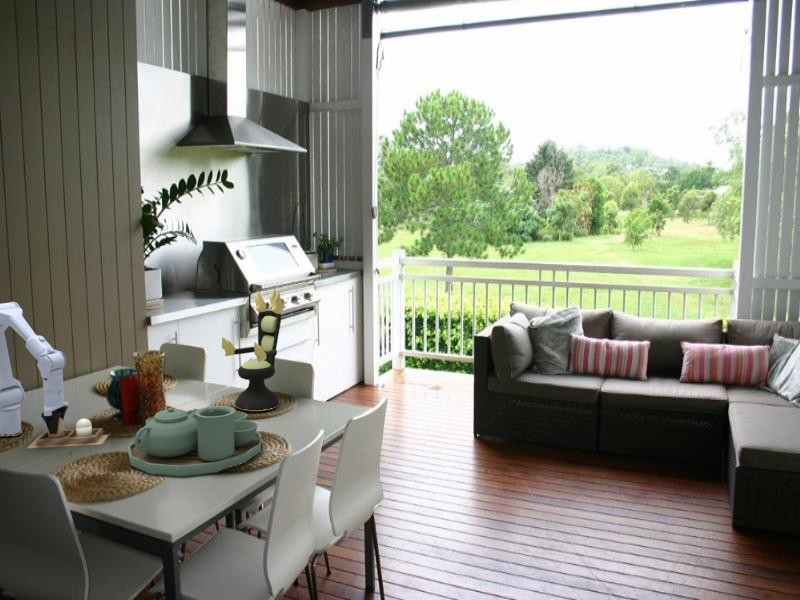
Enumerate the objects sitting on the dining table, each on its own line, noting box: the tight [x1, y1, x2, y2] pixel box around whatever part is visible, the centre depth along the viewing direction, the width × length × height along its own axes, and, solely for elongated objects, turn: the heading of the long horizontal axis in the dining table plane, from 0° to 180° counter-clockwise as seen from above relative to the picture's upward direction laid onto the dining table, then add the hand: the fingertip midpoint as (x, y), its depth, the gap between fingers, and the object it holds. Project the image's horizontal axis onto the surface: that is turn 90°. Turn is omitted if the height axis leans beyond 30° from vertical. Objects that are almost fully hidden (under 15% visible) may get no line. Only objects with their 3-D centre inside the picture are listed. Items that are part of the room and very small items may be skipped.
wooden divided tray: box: [25, 427, 110, 449], centre depth 214 cm, size 22×13×2 cm, turn 101°
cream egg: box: [75, 418, 93, 437], centre depth 215 cm, size 5×5×7 cm
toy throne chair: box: [221, 288, 284, 410], centre depth 254 cm, size 19×22×45 cm
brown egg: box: [47, 418, 65, 439], centre depth 213 cm, size 5×5×7 cm
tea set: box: [127, 405, 262, 477], centre depth 204 cm, size 40×40×16 cm
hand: (55, 431), depth 213 cm, fingers closed on brown egg, 4 cm apart
